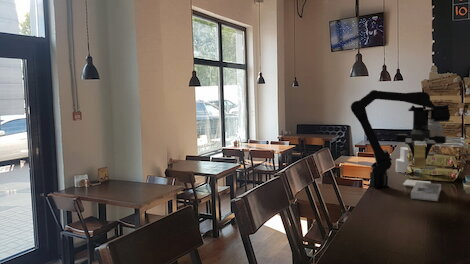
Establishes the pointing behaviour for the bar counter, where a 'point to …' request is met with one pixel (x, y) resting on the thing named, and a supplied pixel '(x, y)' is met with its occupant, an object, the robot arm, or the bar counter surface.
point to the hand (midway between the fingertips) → (420, 158)
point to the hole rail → (426, 191)
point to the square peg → (419, 156)
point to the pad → (413, 182)
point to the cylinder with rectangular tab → (402, 160)
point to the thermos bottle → (434, 129)
